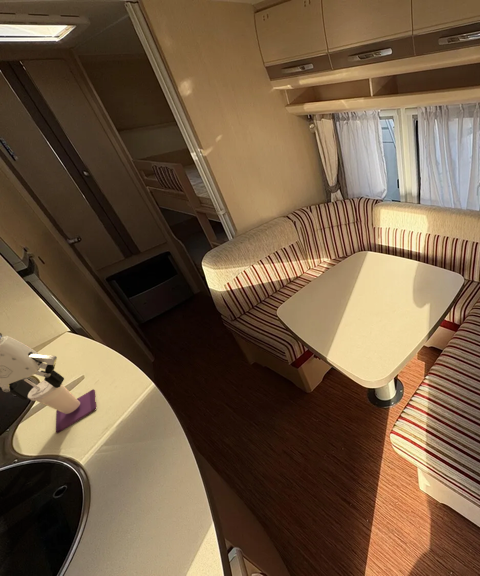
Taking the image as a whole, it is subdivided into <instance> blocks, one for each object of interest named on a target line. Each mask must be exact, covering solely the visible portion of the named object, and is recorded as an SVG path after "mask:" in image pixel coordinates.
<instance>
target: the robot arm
mask: <svg viewBox="0 0 480 576" xmlns="http://www.w3.org/2000/svg"><path fill="white" fill-rule="evenodd" d="M56 362H57V356H56V355H50V354H41V353H39V352H38V351H36V350H35V349H33V348H32V347H30V346H28V345H27V344H25V343H24V342H21V340H18V339H16V338H14V337H12V336H9V335H4V334H3V333H1V332H0V391H3V393H4V392H5V393H11V394H13V395H14V396H16V397H18V398H19V399H21V400H23V401H27V400H29V398H28V393H29V392H30V391H31V389H32V387H30V386H29V385H27V384H25V383H24V382H22V381H21V380H24V379H26V378H27V379H28V378H30V377H32V376H33V375H36V376H39V377H43V378H44V379H43V381H44V380H45V381H47V382H48V383H49V384H51V385H52V386H54V387H55V388H58V387H60V386H61V384H62V385H63V382H64V381H65V377H64V376H62V375H61V374H60V373H58V372H57V371H56V370H55V368H56V364H57V363H56Z"/></svg>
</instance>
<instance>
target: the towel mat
mask: <svg viewBox="0 0 480 576" xmlns="http://www.w3.org/2000/svg"><path fill="white" fill-rule="evenodd" d="M95 397H96V390H95V389H94V388H92V389H91V390H89V391H88V392H86V393H84V394H82V395H81V396H79V397H78V398H77V397H76V399H77V400H78V401H79V402H80V405H79V407H78V408H77V409H76V410H74V411H73V412H71V413H69V414H65V413H63V412H60V411H58V410H56V409H55V411H56V412H55V433H56V434H59V433H60V432H63V431H64V430H66V429H67V428H69V427H71V426H72V425H74V424H75V423H77V422H78V421H80V420H81V418H82V419H84V418H85V417H87V416H88V415H90V414H92V413H93V412H95V411H96V410H95V409H96V407H97V401H96V402H95ZM94 410H95V411H94ZM92 411H93V412H92ZM91 412H92V413H91ZM89 413H90V414H89ZM86 415H87V416H86ZM84 416H85V417H84Z"/></svg>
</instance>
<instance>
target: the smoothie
mask: <svg viewBox="0 0 480 576" xmlns="http://www.w3.org/2000/svg"><path fill="white" fill-rule="evenodd" d="M23 381H24V382H26V383H27V384H28V385H30V386H32V387H31V391H30V392H29V393H28V400H30V401H32V402H35V401H36V402H38V403H40V404H42V405H45V406H47V407H49V408H51V409H54V410H55V411H56V410H58V411H60V412H63V413H65V414H69V413H71V412H73V411H74V410H76V409H77V408H78V407H79V405H80V402H79V401H78V400H77V397H76V396H75V395H74V394H73V393H72V392H71V391H70V390H69V389H68V388H67V387H66V386H65V385H64V384H63V383H62V384H61V386H60V387H58V388H55V387H54V386H52V385H51V384H49V383H48V382H47V381H45V380H44V379H43V380H42V381H40V382H39V383H37V384H36V383H34V382H33V381H31V380H30V379H28V377H27V378H24V379H23Z"/></svg>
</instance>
